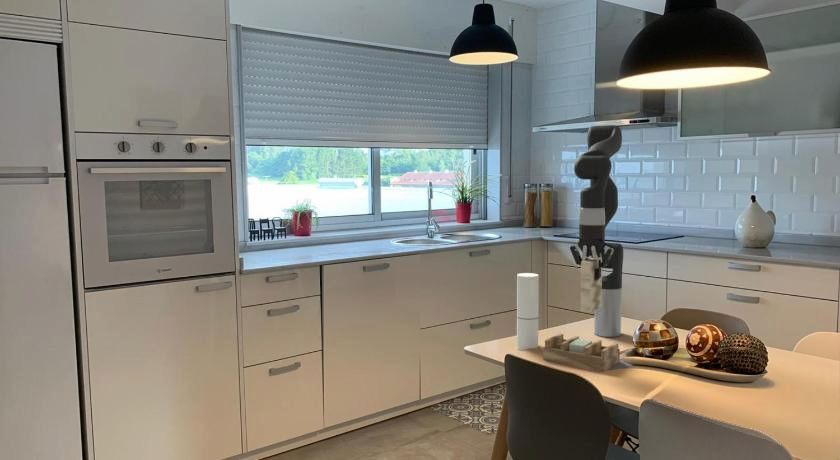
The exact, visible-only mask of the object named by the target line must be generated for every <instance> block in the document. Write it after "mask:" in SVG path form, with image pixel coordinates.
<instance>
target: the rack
mask: <svg viewBox="0 0 840 460" xmlns="http://www.w3.org/2000/svg"><path fill="white" fill-rule="evenodd" d="M577 339H580V336H577V335H576V336H573V337H572V338H568V339H565V338H564V333H561V332H559V333H558V334H556V335H553V336H551V337H549V338H546V339H545V340H544V346H543V351H542V352H543V353H542V356H543V358H542V360H543V361H546V362H550V363H556V364H562V365H564V366H565V365H566V366H569V367H571V366H572V367H576V368H581V369H586V370H589V371H590V370H591V371H595V372H600V373H603V372H605V371H606V370H608V369H611V367H614V366H615V365H616V364H618V363H620V354H621V352H620V351H621V349H620V348H619V342H614V343H612V344H611V345H609V346H606V345H603V340H601V339H597V340H596V341H592V343H591V344H590V345H588V346H586V347H584V354H581V353H576V352H571V351H569V344H570V343H572V342H573V341H575V340H577Z"/></svg>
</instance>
